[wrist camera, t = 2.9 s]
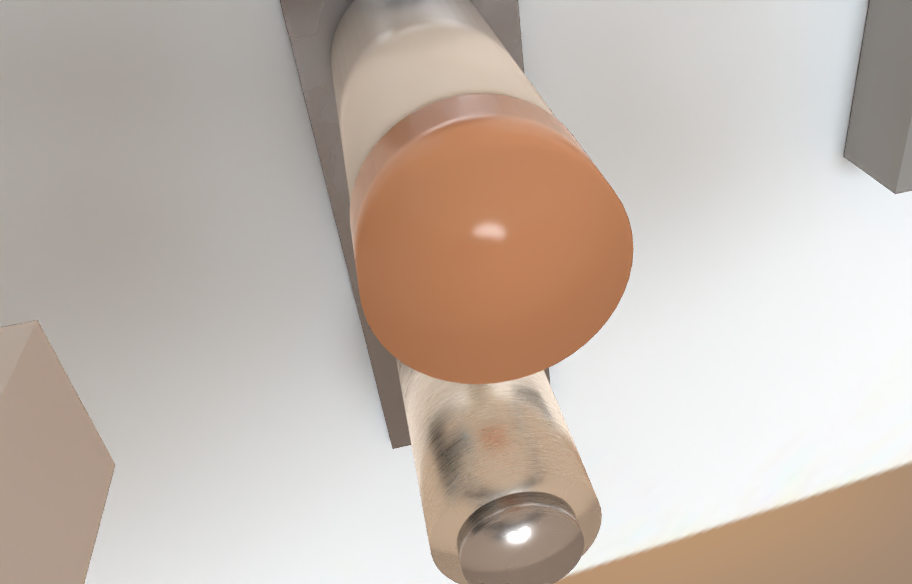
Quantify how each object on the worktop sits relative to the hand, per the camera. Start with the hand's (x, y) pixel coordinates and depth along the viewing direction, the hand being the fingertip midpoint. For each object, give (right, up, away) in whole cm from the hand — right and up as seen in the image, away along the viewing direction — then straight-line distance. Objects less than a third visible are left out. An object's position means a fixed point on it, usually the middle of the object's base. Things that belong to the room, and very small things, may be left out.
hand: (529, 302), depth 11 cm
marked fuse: (-2, +6, +8) cm, 11 cm away
